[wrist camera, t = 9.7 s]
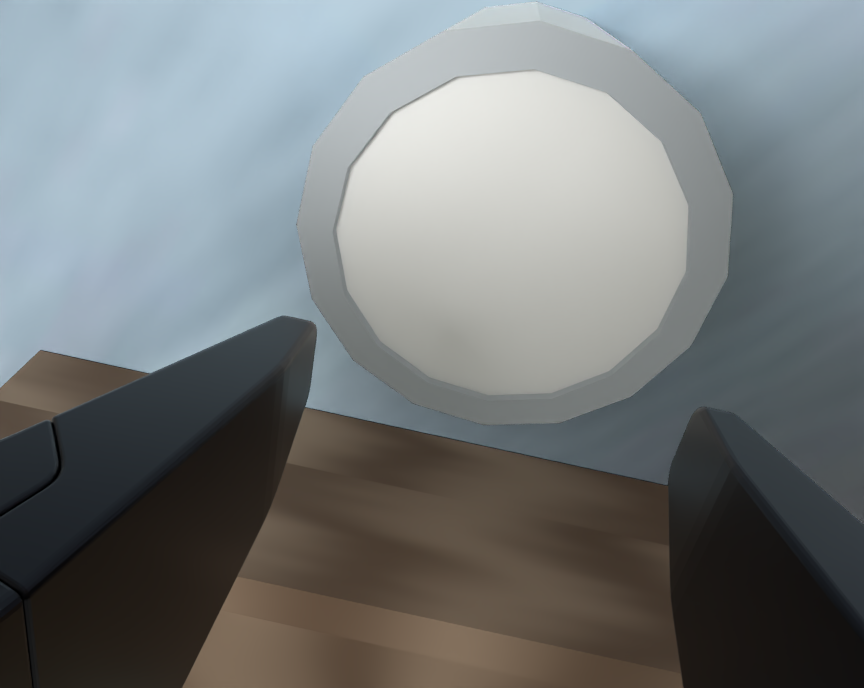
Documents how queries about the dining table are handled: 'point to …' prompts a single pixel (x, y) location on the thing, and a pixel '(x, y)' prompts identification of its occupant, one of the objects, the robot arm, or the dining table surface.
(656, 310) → the shot glass
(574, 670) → the tray
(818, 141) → the dining table surface
